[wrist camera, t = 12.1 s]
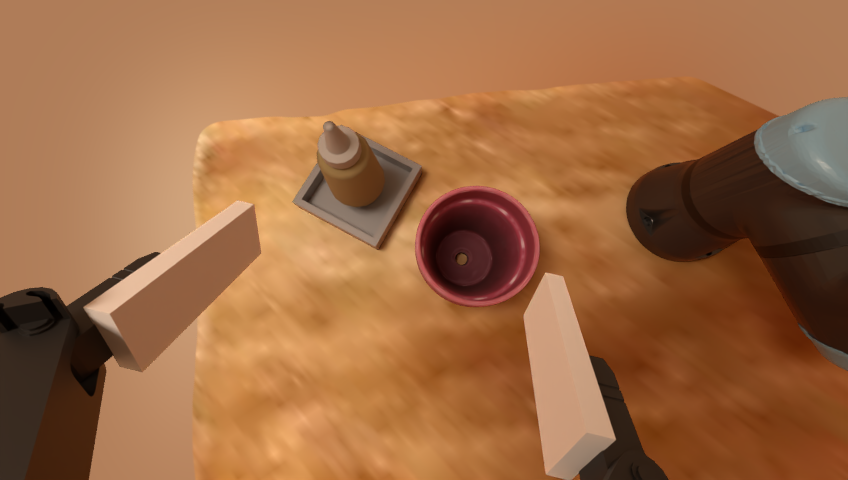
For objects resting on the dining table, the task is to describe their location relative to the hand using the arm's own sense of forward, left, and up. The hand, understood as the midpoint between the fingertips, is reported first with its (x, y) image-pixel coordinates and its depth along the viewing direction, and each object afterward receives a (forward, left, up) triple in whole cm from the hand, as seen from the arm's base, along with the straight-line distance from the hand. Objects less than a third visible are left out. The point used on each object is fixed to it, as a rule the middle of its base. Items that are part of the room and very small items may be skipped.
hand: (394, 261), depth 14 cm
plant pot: (-5, -8, -34) cm, 35 cm away
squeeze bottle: (+14, -10, -33) cm, 37 cm away
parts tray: (+14, -10, -34) cm, 38 cm away
